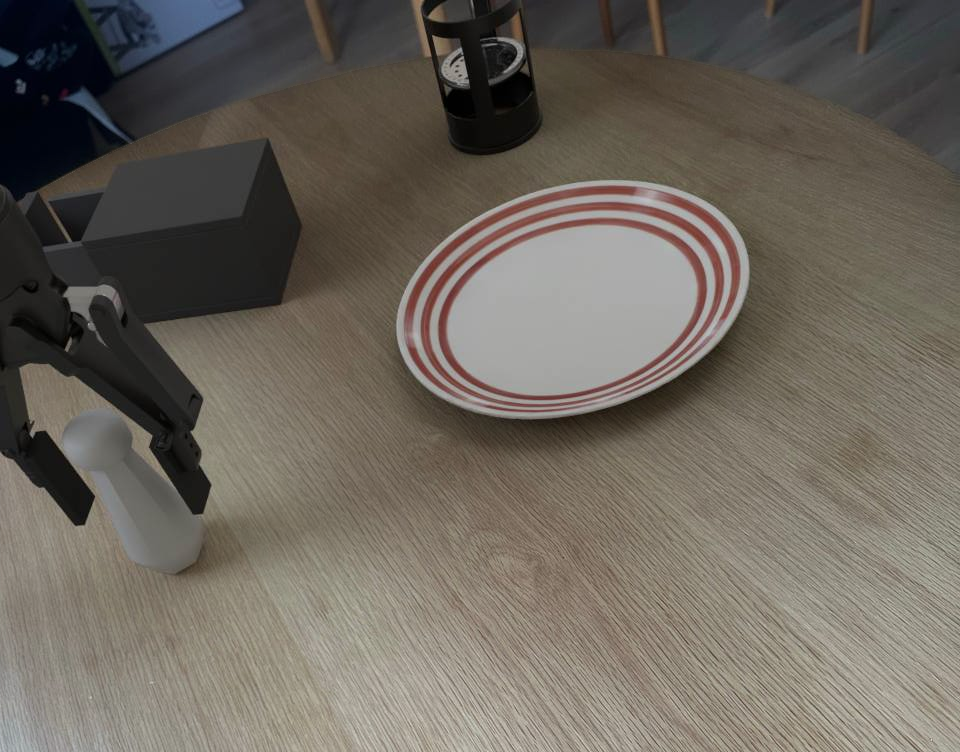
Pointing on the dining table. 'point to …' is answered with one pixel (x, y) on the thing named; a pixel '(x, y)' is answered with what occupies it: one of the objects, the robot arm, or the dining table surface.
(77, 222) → the dark pull-out drawer box
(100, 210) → the drawer casing
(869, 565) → the dining table surface
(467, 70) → the french press
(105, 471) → the salt shaker
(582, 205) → the dinner plate
